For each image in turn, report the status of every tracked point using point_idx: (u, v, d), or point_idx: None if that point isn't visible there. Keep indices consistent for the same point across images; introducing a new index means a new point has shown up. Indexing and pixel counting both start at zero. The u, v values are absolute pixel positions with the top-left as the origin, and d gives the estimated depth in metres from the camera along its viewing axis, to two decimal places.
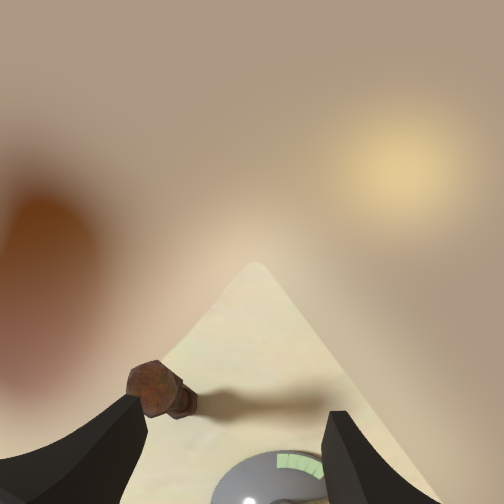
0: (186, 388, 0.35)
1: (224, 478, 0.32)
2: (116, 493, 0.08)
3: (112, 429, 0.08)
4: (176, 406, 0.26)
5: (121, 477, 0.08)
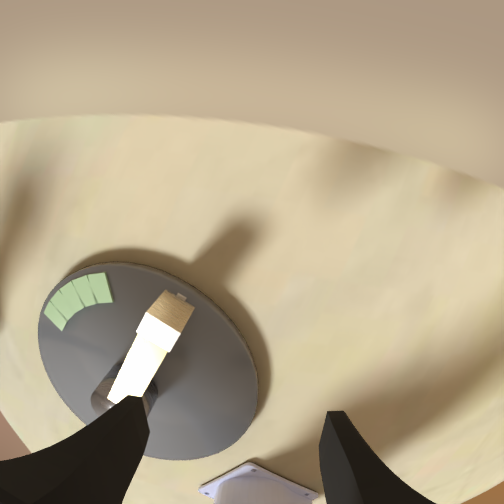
0: None
1: (55, 386, 0.21)
2: (119, 494, 0.08)
3: (115, 430, 0.08)
4: None
5: (123, 478, 0.08)
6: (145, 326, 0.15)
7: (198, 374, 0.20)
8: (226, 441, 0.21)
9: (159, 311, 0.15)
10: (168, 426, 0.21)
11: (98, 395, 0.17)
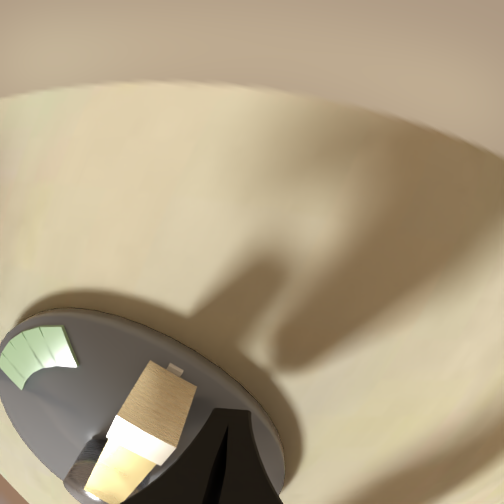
0: None
1: (27, 444, 0.14)
2: None
3: (219, 448, 0.08)
4: None
5: (219, 496, 0.08)
6: (118, 432, 0.08)
7: None
8: None
9: (139, 409, 0.08)
10: None
11: (72, 482, 0.10)
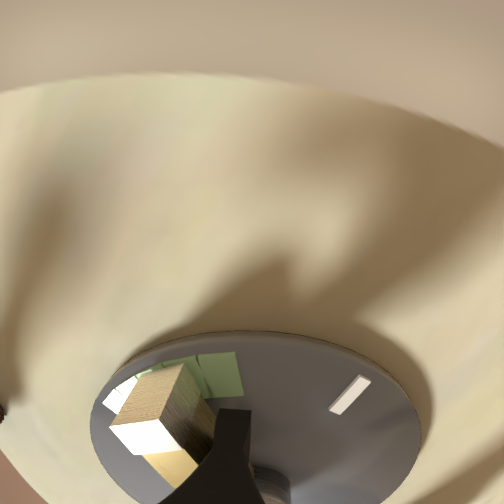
0: None
1: (116, 480, 0.14)
2: None
3: (243, 450, 0.08)
4: None
5: None
6: (130, 442, 0.08)
7: (352, 461, 0.13)
8: None
9: (128, 411, 0.09)
10: None
11: None
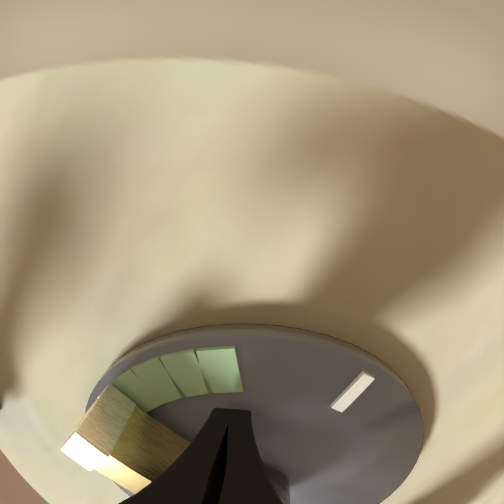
0: None
1: None
2: None
3: (219, 448, 0.08)
4: None
5: (219, 496, 0.08)
6: (79, 460, 0.09)
7: (353, 460, 0.12)
8: None
9: (72, 434, 0.09)
10: None
11: None
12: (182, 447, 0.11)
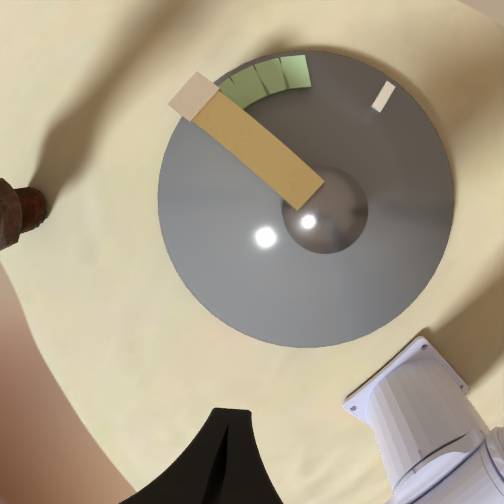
0: None
1: (168, 242, 0.18)
2: None
3: (219, 448, 0.08)
4: None
5: (218, 496, 0.08)
6: (184, 108, 0.13)
7: (400, 179, 0.16)
8: (413, 291, 0.18)
9: None
10: (347, 276, 0.18)
11: (296, 229, 0.14)
12: None
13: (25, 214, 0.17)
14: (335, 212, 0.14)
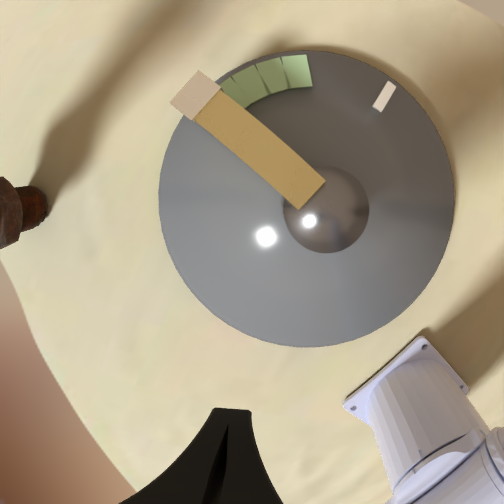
0: None
1: (169, 241, 0.18)
2: None
3: (219, 448, 0.08)
4: None
5: (219, 496, 0.08)
6: (186, 107, 0.13)
7: (401, 179, 0.16)
8: (413, 290, 0.18)
9: None
10: (348, 275, 0.18)
11: (297, 228, 0.14)
12: None
13: (25, 213, 0.17)
14: (336, 211, 0.14)
